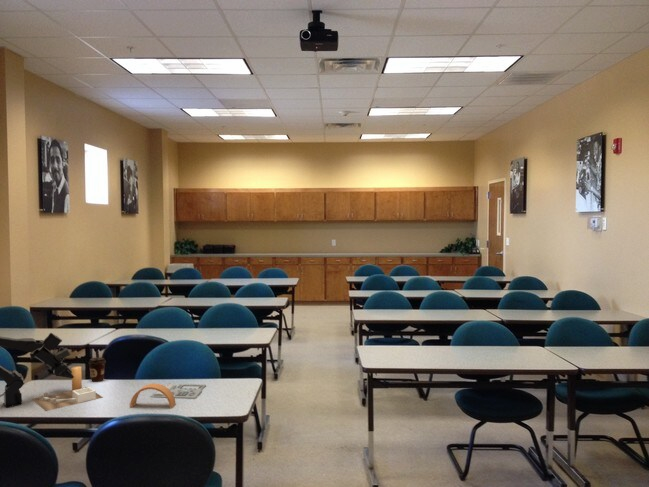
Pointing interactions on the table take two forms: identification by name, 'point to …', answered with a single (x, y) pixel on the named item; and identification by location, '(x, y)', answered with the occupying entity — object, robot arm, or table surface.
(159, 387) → the arch
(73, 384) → the tan cylinder
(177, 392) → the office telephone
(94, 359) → the coffee cup
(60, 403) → the cable board
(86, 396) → the end holder
